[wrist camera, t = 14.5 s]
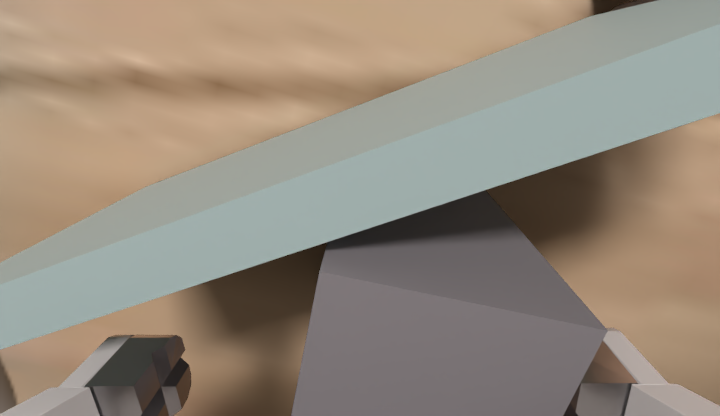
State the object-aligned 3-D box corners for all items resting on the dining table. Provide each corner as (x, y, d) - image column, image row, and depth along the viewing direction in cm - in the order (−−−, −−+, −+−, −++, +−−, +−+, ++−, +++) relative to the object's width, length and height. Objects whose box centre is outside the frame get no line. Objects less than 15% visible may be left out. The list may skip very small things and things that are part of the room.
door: (641, 33, 12) (1157, -31, 4) (160, 211, 14) (-94, 380, 7) (636, -2, 11) (1185, -146, 4) (145, 186, 14) (-137, 334, 6)
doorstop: (465, 167, 14) (607, 330, 5) (421, 307, 16) (473, 586, 7) (355, 143, 14) (319, 271, 5) (325, 288, 16) (264, 548, 7)
